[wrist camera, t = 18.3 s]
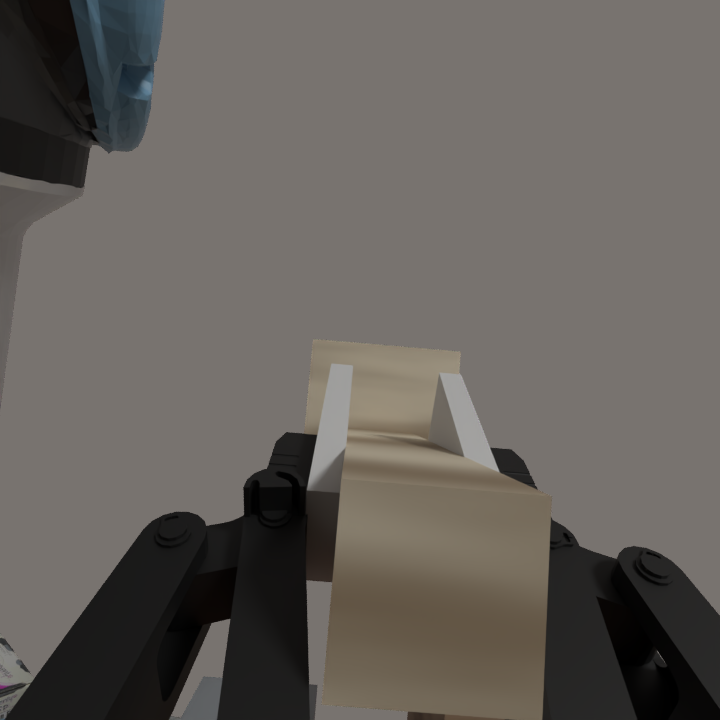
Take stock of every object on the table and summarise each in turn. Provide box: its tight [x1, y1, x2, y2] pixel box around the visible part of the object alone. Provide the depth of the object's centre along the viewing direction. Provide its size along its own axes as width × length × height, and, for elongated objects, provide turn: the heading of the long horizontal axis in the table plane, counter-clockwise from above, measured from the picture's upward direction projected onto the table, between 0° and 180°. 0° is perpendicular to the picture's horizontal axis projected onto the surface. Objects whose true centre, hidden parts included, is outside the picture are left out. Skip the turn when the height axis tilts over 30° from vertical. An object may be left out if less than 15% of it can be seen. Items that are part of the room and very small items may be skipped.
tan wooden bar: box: [304, 339, 552, 720], centre depth 17 cm, size 20×7×7 cm, turn 1°
